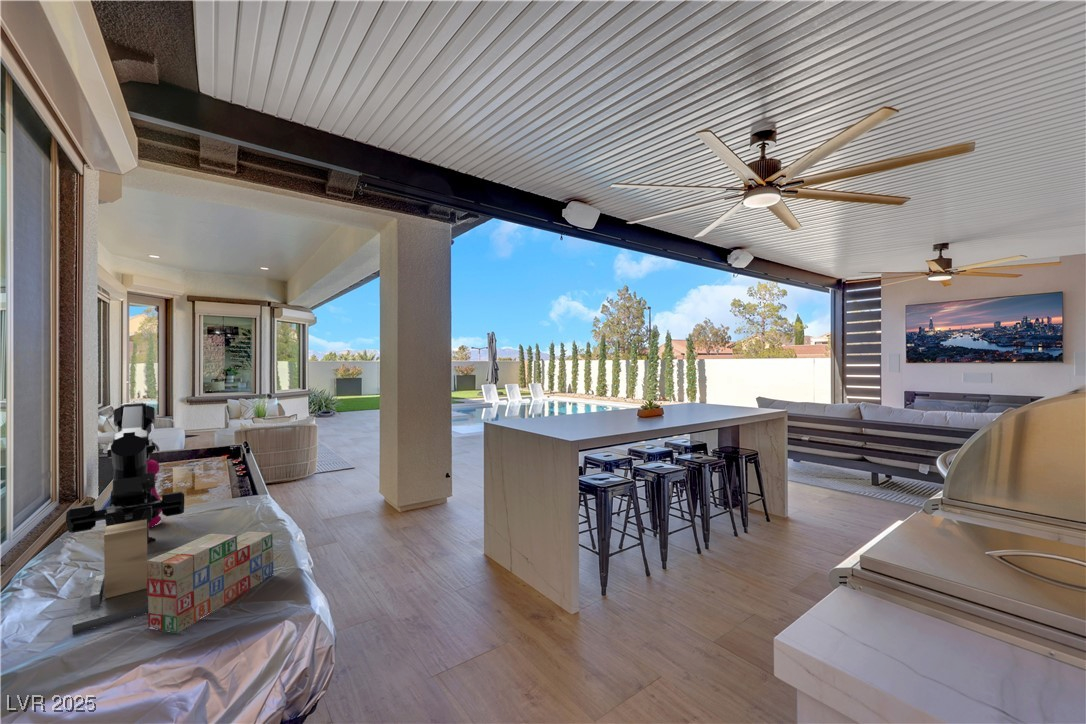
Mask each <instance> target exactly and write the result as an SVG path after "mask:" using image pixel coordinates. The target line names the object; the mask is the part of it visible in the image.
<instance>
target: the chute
mask: <svg viewBox="0 0 1086 724" xmlns="http://www.w3.org/2000/svg"><path fill="white" fill-rule="evenodd" d="M147 568H148V564H147ZM76 609H77V610H76V612H75V616H74V619H73V622H72V624H71V625H72V627H71V628H72V635H73V634H77V633H81V632H84V630H85V631H88V630H91V628H92V629H94V627H96V628H99V627H102V626H106V625H110V624H114V623H117V621H118V622H121V621H124V620H128V619H132V618H135V617H134V616H136V617H140V616H143V615H146V614H145V613H147V614H148V595H147V588H146V589H142V590H138V591H134V592H130V593H126V594H122V595H118V596H114V597H110V598H105V573H103V574H99V575H93V576H89V577H87V579H86V582H85V585H84V588H83V591H82V595H81V597H80V600H79V604H78V607H77V608H76ZM142 614H143V615H142ZM131 617H132V618H131ZM87 629H88V630H87ZM80 631H81V632H80Z"/></svg>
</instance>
